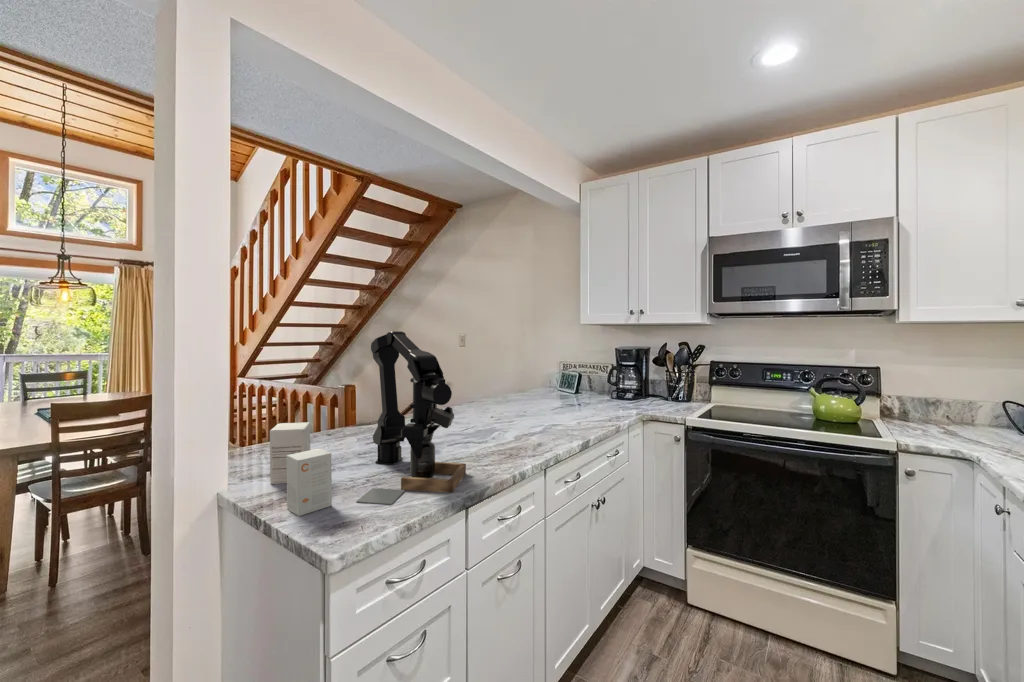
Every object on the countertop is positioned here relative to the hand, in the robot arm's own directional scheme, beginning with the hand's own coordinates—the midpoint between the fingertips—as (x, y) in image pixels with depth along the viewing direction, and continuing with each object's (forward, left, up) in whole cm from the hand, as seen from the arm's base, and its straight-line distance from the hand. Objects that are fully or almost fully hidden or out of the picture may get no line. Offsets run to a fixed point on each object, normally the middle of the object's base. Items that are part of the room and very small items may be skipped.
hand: (422, 454), depth 124 cm
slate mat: (-6, -13, -7) cm, 16 cm away
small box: (-20, -22, -8) cm, 31 cm away
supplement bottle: (0, 0, -6) cm, 6 cm away
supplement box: (-37, -4, -8) cm, 38 cm away
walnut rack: (+4, 0, -7) cm, 8 cm away
